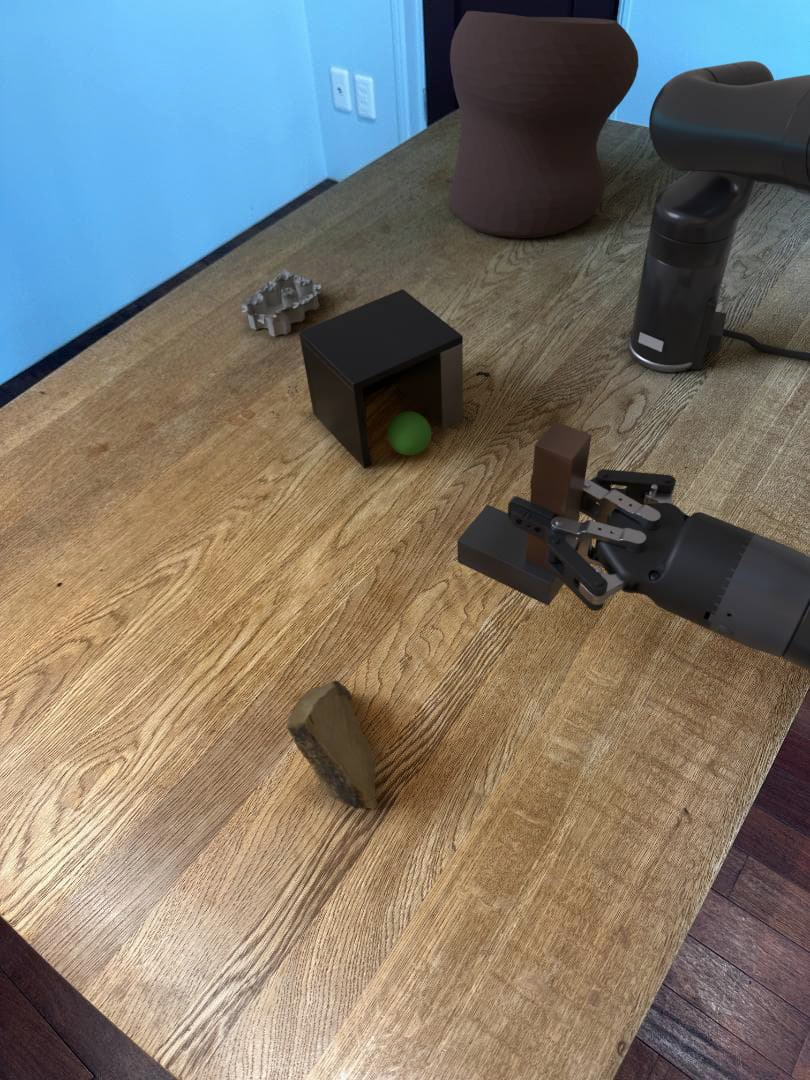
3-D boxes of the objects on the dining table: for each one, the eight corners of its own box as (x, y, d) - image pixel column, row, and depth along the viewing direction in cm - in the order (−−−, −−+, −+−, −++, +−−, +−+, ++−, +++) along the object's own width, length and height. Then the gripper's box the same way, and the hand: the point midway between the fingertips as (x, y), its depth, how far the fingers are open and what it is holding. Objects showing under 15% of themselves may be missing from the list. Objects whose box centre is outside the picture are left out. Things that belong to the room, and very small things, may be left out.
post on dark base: (575, 567, 70) (598, 426, 58) (548, 606, 68) (566, 467, 56) (486, 526, 74) (490, 386, 62) (457, 562, 72) (455, 423, 60)
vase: (629, 240, 123) (667, 13, 100) (451, 248, 124) (448, 25, 102) (603, 161, 140) (630, -47, 118) (447, 169, 142) (444, -36, 119)
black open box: (463, 420, 98) (462, 335, 88) (364, 468, 93) (353, 384, 84) (408, 371, 104) (402, 288, 95) (313, 414, 100) (298, 331, 91)
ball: (437, 439, 95) (436, 406, 92) (423, 468, 92) (421, 434, 89) (397, 432, 97) (394, 399, 93) (382, 459, 94) (379, 426, 90)
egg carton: (280, 341, 110) (274, 315, 107) (239, 325, 114) (233, 300, 110) (328, 303, 116) (324, 277, 113) (288, 288, 119) (283, 263, 116)
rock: (298, 663, 73) (245, 753, 66) (347, 626, 67) (294, 720, 60) (389, 733, 75) (347, 827, 68) (444, 703, 69) (404, 802, 62)
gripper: (785, 485, 58) (567, 406, 65) (712, 622, 51) (475, 516, 58) (757, 553, 64) (559, 473, 71) (687, 685, 56) (474, 581, 63)
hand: (522, 493), depth 64 cm, fingers closed on post on dark base, 3 cm apart
